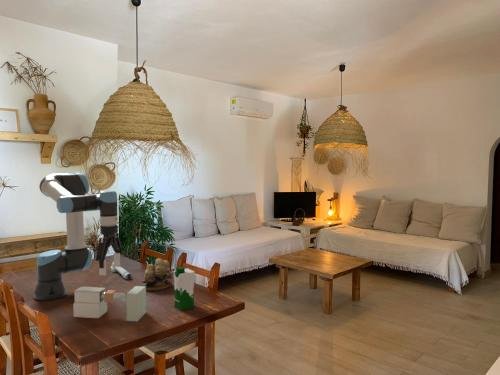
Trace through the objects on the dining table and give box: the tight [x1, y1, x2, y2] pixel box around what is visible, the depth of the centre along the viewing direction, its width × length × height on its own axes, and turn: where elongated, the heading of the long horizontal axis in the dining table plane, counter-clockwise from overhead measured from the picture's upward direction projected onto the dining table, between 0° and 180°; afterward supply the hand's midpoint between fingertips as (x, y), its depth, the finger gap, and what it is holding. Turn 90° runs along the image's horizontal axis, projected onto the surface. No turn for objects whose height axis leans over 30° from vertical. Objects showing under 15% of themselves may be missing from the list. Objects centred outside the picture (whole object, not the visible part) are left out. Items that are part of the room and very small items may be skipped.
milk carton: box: [172, 266, 196, 311], centre depth 186 cm, size 9×9×20 cm
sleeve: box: [73, 286, 108, 319], centre depth 177 cm, size 12×8×12 cm, turn 83°
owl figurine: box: [141, 258, 174, 293], centre depth 214 cm, size 18×12×17 cm, turn 130°
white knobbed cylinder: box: [110, 261, 133, 281], centre depth 238 cm, size 5×7×25 cm
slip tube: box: [100, 289, 126, 304], centre depth 176 cm, size 19×4×4 cm, turn 83°
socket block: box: [125, 285, 147, 322], centre depth 174 cm, size 5×10×13 cm, turn 173°
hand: (110, 270), depth 175 cm, fingers open, 13 cm apart
